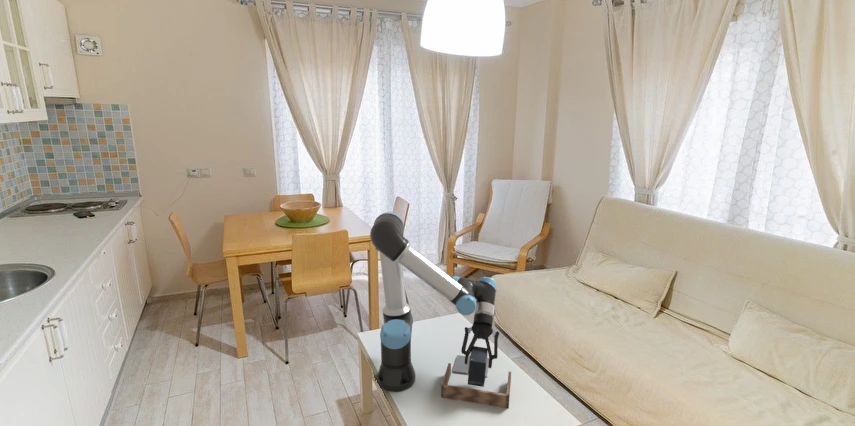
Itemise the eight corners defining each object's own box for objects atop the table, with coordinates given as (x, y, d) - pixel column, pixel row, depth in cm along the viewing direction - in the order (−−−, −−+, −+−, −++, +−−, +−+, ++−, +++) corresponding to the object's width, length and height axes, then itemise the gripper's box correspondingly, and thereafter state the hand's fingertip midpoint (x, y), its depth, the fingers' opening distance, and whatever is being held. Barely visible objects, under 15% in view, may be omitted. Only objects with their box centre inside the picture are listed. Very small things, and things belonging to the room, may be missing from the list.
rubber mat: (452, 372, 177) (452, 371, 177) (457, 356, 189) (457, 355, 188) (486, 377, 174) (486, 375, 174) (489, 360, 185) (489, 359, 185)
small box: (484, 387, 160) (486, 362, 157) (467, 385, 161) (468, 360, 159) (486, 371, 170) (488, 347, 167) (470, 368, 171) (471, 345, 169)
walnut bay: (440, 397, 162) (441, 385, 161) (448, 373, 176) (448, 363, 175) (508, 408, 156) (509, 396, 155) (510, 382, 171) (511, 371, 169)
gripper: (508, 321, 174) (502, 381, 162) (460, 315, 178) (452, 373, 167) (508, 315, 167) (502, 377, 156) (459, 309, 172) (450, 368, 160)
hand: (476, 375), depth 161 cm, fingers closed on small box, 6 cm apart
